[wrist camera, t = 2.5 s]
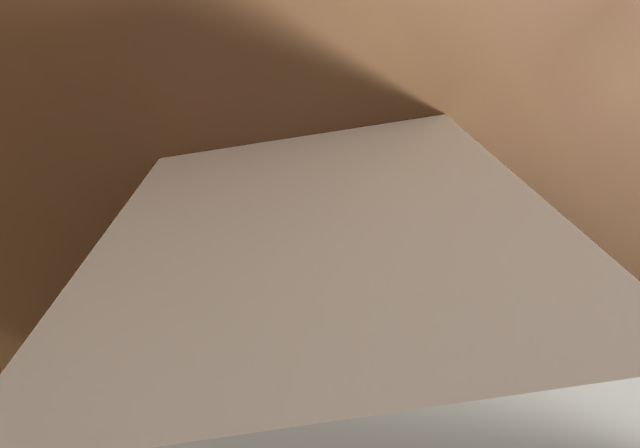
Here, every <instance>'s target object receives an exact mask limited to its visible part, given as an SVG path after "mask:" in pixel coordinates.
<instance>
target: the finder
mask: <svg viewBox="0 0 640 448" xmlns="http://www.w3.org/2000/svg"><path fill="white" fill-rule="evenodd" d="M0 448H640V281H639V280H637V279H636V278H635V277H634V276H633V275H632V274H631V273H629V272H628V271H627V270H626V269H625V268H624V267H622V266H621V265H620V264H619V263H618V262H617V261H615V260H614V259H613V258H612V257H611V256H610V255H608V254H607V253H606V252H605V251H604V250H603V249H602V248H600V247H599V246H598V245H597V244H596V243H595V242H593V241H592V240H591V239H590V238H589V237H588V236H586V235H585V234H584V233H583V232H582V231H581V230H579V229H578V228H577V227H576V226H575V225H574V224H573V223H571V222H570V221H569V220H568V219H567V218H566V217H564V216H563V215H562V214H561V213H560V212H559V211H557V210H556V209H555V208H554V207H553V206H552V205H550V204H549V203H548V202H547V201H546V200H545V199H543V198H542V197H541V196H540V195H539V194H538V193H537V192H535V191H534V190H533V189H532V188H531V187H530V186H528V185H527V184H526V183H525V182H524V181H523V180H521V179H520V178H519V177H518V176H517V175H516V174H514V173H513V172H512V171H511V170H510V169H509V168H508V167H506V166H505V165H504V164H503V163H502V162H501V161H499V160H498V159H497V158H496V157H495V156H494V155H492V154H491V153H490V152H489V151H488V150H487V149H485V148H484V147H483V146H482V145H481V144H480V143H479V142H477V141H476V140H475V139H474V138H473V137H472V136H470V135H469V134H468V133H467V132H466V131H465V130H463V129H462V128H461V127H460V126H459V125H458V124H456V123H455V122H454V121H453V120H452V119H451V118H450V117H448V116H447V115H446V114H443V115H437V116H430V117H424V118H417V119H411V120H405V121H398V122H392V123H385V124H379V125H372V126H366V127H359V128H353V129H346V130H340V131H333V132H327V133H320V134H314V135H307V136H301V137H294V138H288V139H281V140H275V141H268V142H262V143H255V144H249V145H242V146H236V147H229V148H223V149H216V150H210V151H203V152H197V153H190V154H184V155H177V156H171V157H164V158H159V160H158V161H157V162H156V164H155V165H154V166H153V168H152V169H151V170H150V172H149V173H148V174H147V176H146V177H145V179H144V180H143V181H142V183H141V184H140V185H139V187H138V188H137V189H136V191H135V192H134V193H133V195H132V196H131V198H130V199H129V200H128V202H127V203H126V204H125V206H124V207H123V208H122V210H121V211H120V213H119V214H118V215H117V217H116V218H115V219H114V221H113V222H112V223H111V225H110V226H109V227H108V229H107V230H106V232H105V233H104V234H103V236H102V237H101V238H100V240H99V241H98V242H97V244H96V245H95V246H94V248H93V249H92V251H91V252H90V253H89V255H88V256H87V257H86V259H85V260H84V261H83V263H82V264H81V265H80V267H79V268H78V270H77V271H76V272H75V274H74V275H73V276H72V278H71V279H70V280H69V282H68V283H67V284H66V286H65V287H64V289H63V290H62V291H61V293H60V294H59V295H58V297H57V298H56V299H55V301H54V302H53V303H52V305H51V306H50V308H49V309H48V310H47V312H46V313H45V314H44V316H43V317H42V318H41V320H40V321H39V322H38V324H37V325H36V327H35V328H34V329H33V331H32V332H31V333H30V335H29V336H28V337H27V339H26V340H25V341H24V343H23V344H22V346H21V347H20V348H19V350H18V351H17V352H16V354H15V355H14V356H13V358H12V359H11V361H10V362H9V363H8V365H7V366H6V367H5V369H4V370H3V371H2V373H1V374H0Z"/></svg>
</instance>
